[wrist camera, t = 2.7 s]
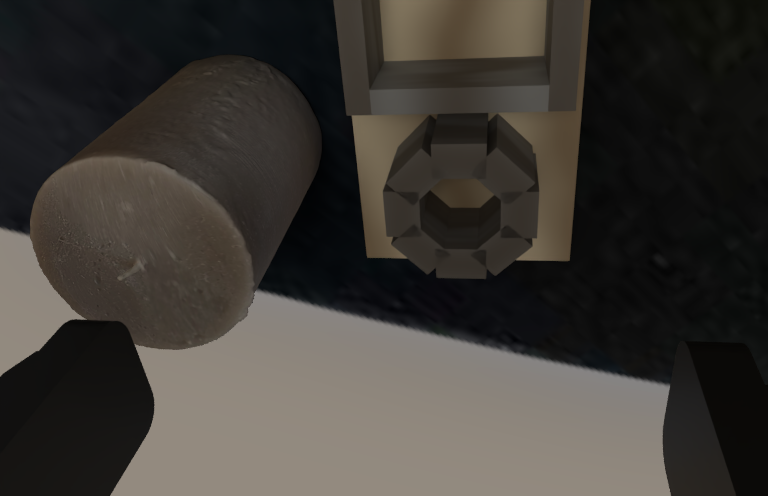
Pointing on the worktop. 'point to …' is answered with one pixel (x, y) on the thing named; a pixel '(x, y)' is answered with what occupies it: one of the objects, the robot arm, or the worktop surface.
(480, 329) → the worktop surface
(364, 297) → the worktop surface
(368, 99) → the socket board
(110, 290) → the pillar candle
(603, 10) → the worktop surface
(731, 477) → the robot arm
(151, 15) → the worktop surface
